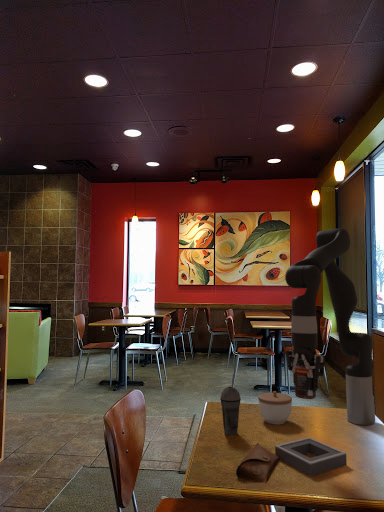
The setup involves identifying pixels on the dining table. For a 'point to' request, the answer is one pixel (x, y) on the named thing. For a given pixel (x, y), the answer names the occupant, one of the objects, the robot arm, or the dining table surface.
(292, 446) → the holder block
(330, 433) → the dining table surface
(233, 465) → the dining table surface
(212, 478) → the dining table surface
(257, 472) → the sunglasses case
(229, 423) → the beverage cup
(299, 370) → the supplement bottle
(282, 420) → the lidded bowl
